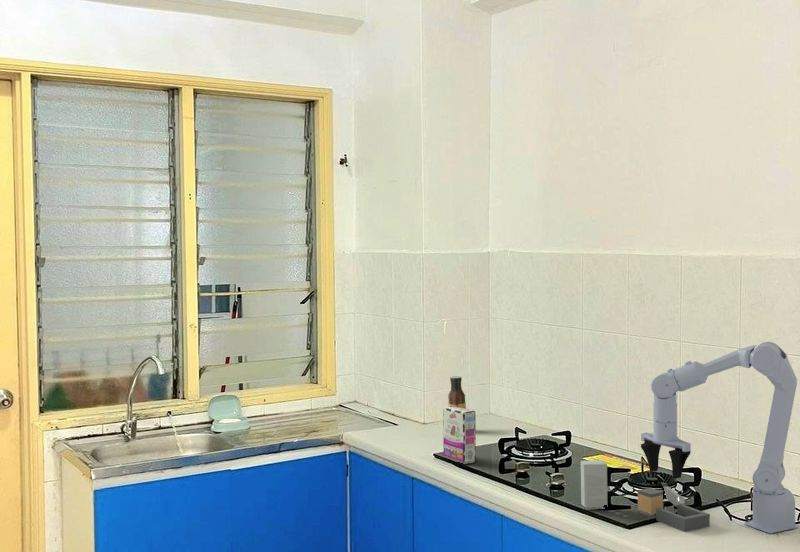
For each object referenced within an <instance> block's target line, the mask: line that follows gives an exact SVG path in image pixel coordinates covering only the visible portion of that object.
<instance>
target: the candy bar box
mask: <svg viewBox="0 0 800 552" xmlns="http://www.w3.org/2000/svg"><path fill="white" fill-rule="evenodd" d="M442 414H443V415H442V416H443V417H442V418H443V419H442V420H443V421H442V423H443V426H442V427H443V430H442V431H443V432H442V433H443V441H442V442H443V444H442V445H443V457H444V456H448V457H452V458H455V459H458V460H460V461H463V462H467V461H473V460H476V461H477V459H476V458H477V453H476V452H477V451H476V448H477V447H476V444H477V443H476V441H477V440H476V427H477V426H476V411H475V410H472V409H469V408H466V409H464V408H460V407H456V406H451V407H449V406H446V407H442Z"/></svg>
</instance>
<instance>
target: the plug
mask: <svg viewBox="0 0 800 552" xmlns="http://www.w3.org/2000/svg"><path fill="white" fill-rule="evenodd" d="M656 508H662V509H664V499H663V491H660V489H656V488H652V487H647V488H641V489H639V490H637V510H638V509H639V510H642V511H645V512H648V513H650V514H653V513H656Z"/></svg>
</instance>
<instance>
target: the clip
mask: <svg viewBox="0 0 800 552" xmlns="http://www.w3.org/2000/svg"><path fill="white" fill-rule="evenodd" d="M660 483H661V484H662V486H663V488H664V491H665V494H666V498H667V499H666V500H668V502H670V503H671V504H672V505H674V507H676V508H677V504H683V505H685V496H682V495H680V493H678V492H676V491H675V490H673V489H672V488H671V487H670V486H668V483H666V482H665V483H664V482H660Z"/></svg>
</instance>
